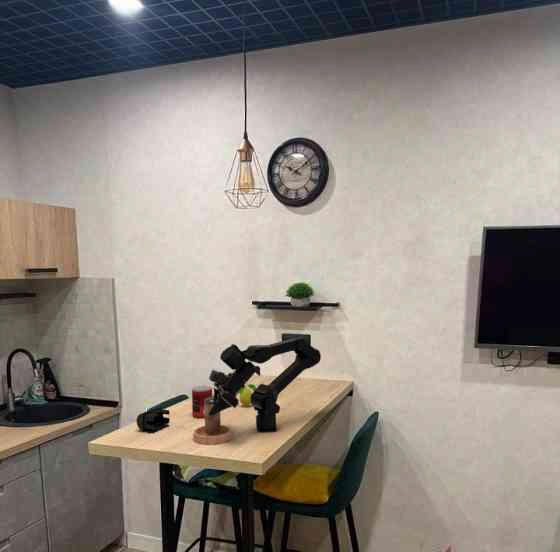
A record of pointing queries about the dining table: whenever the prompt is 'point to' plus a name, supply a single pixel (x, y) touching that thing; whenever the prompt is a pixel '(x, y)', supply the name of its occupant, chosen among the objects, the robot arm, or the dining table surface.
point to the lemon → (246, 394)
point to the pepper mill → (211, 417)
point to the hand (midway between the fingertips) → (208, 412)
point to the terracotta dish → (212, 436)
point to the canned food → (200, 400)
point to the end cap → (153, 420)
